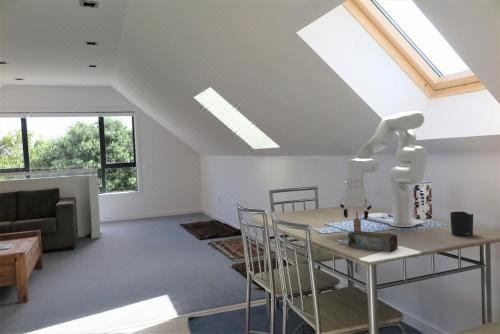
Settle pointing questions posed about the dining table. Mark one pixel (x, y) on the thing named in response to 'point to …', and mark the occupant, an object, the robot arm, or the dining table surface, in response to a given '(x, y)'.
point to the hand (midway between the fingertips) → (355, 218)
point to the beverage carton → (373, 240)
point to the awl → (357, 223)
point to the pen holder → (461, 223)
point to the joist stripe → (344, 241)
